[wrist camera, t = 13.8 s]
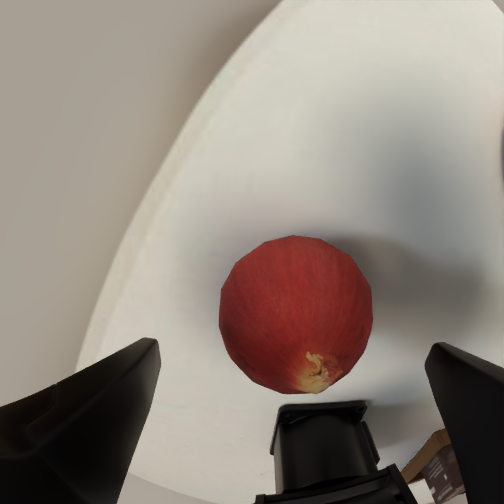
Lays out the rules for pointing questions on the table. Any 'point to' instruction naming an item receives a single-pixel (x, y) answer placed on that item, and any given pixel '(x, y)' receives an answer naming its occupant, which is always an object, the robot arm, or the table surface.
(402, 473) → the walnut tray
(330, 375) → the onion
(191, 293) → the table surface
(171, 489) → the table surface
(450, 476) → the box
